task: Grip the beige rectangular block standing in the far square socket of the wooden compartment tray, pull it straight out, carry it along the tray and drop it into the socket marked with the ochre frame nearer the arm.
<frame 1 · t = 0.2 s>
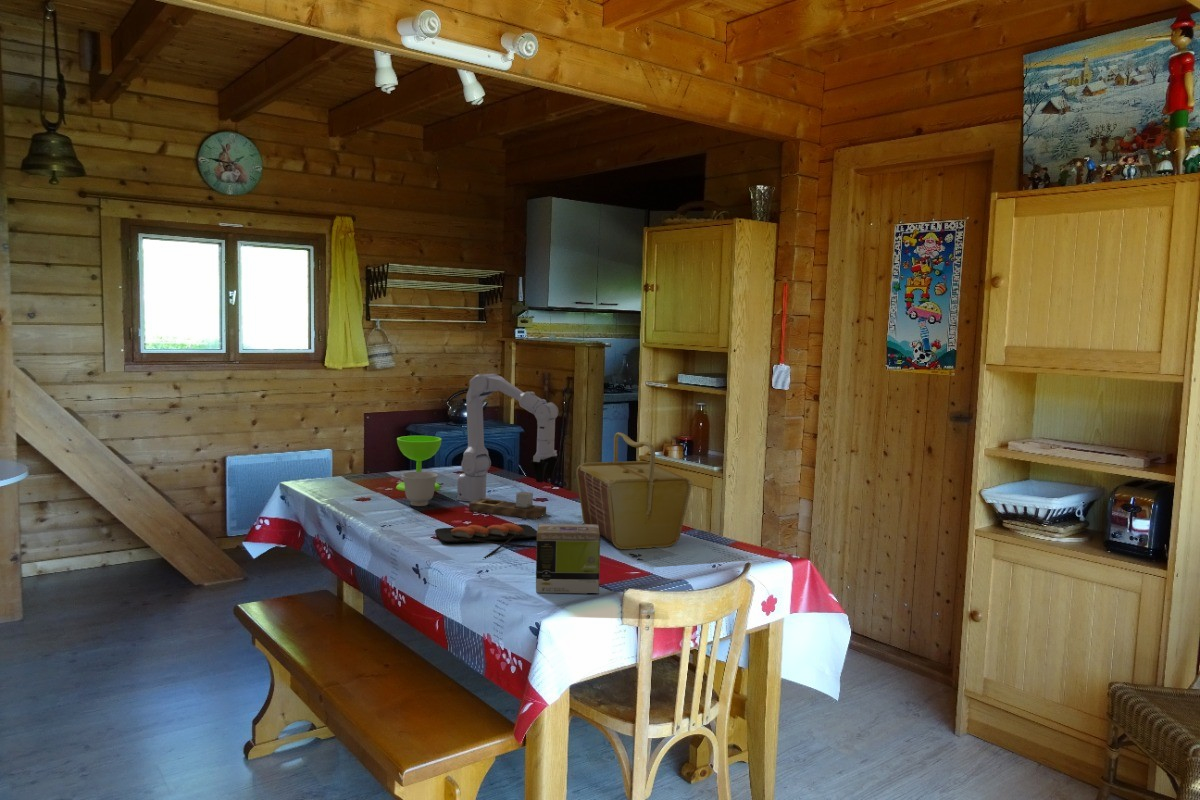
hand: (544, 480, 287), 10 cm above the table, tool pointing down, fingers open, 7 cm apart
tea box: (566, 588, 207), on the table
sushi plate: (493, 546, 244), on the table
teacup: (420, 504, 291), on the table
beige rectangular block: (524, 514, 281), resting in wooden compartment tray
picnic basket: (629, 538, 256), on the table
wineglass: (418, 488, 317), on the table
wooden compartment tray: (507, 512, 283), on the table
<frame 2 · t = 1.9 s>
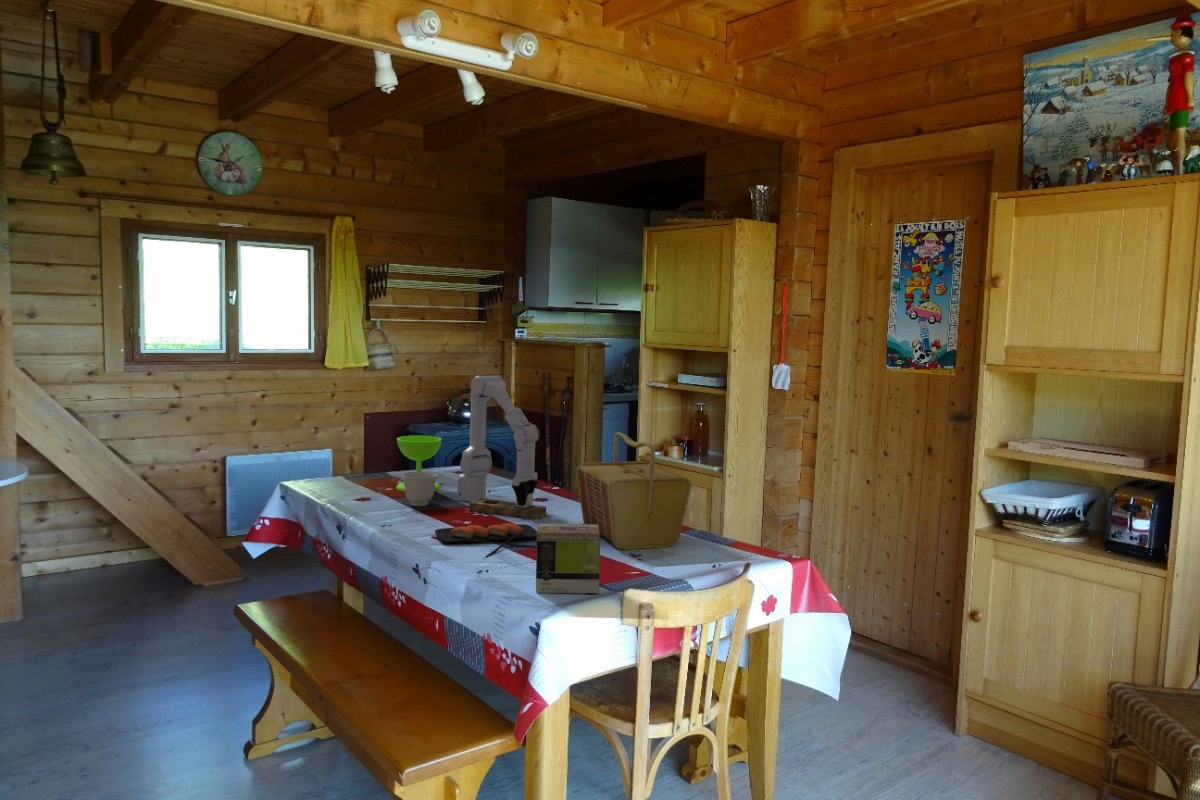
hand: (524, 504, 280), 3 cm above the table, tool pointing down, fingers closed on beige rectangular block, 4 cm apart
beige rectangular block: (524, 514, 281), resting in wooden compartment tray, touching gripper
everything else where it was.
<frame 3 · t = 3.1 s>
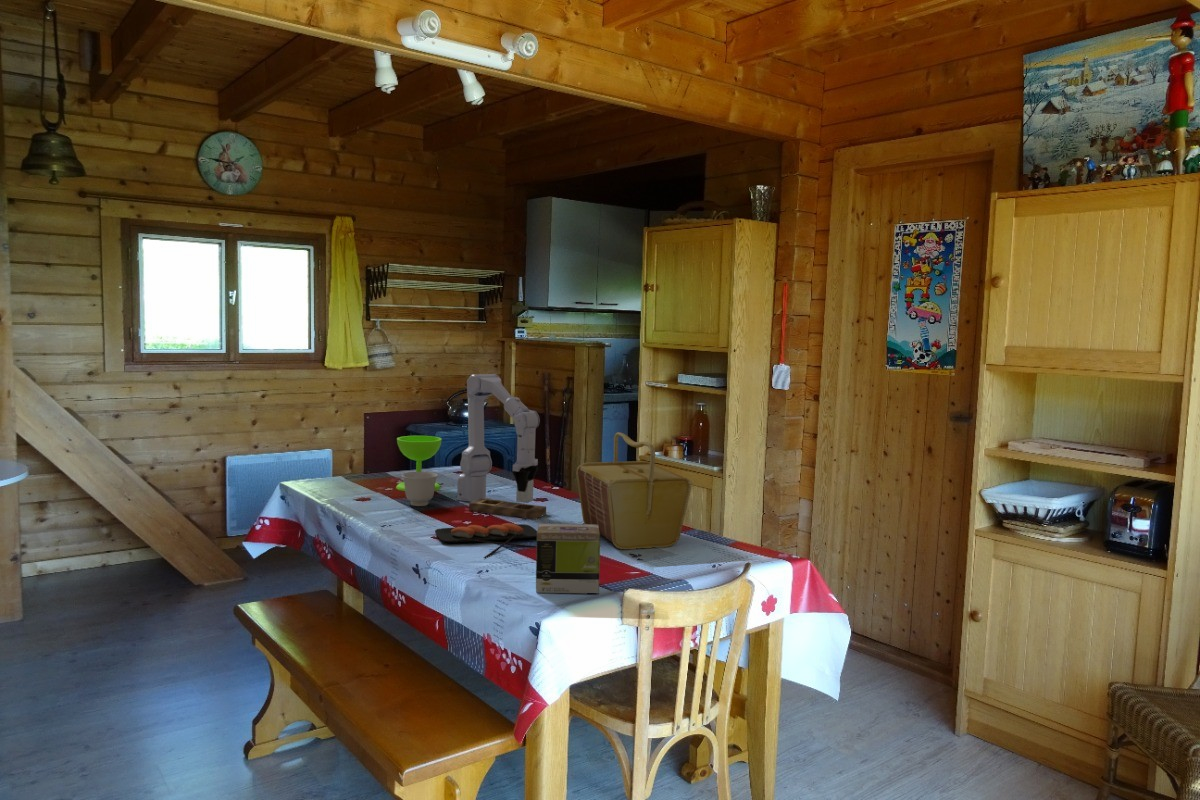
hand: (524, 490, 280), 8 cm above the table, tool pointing down, fingers closed on beige rectangular block, 4 cm apart
beige rectangular block: (524, 501, 280), point 4 cm above the table, touching gripper
everything else where it was.
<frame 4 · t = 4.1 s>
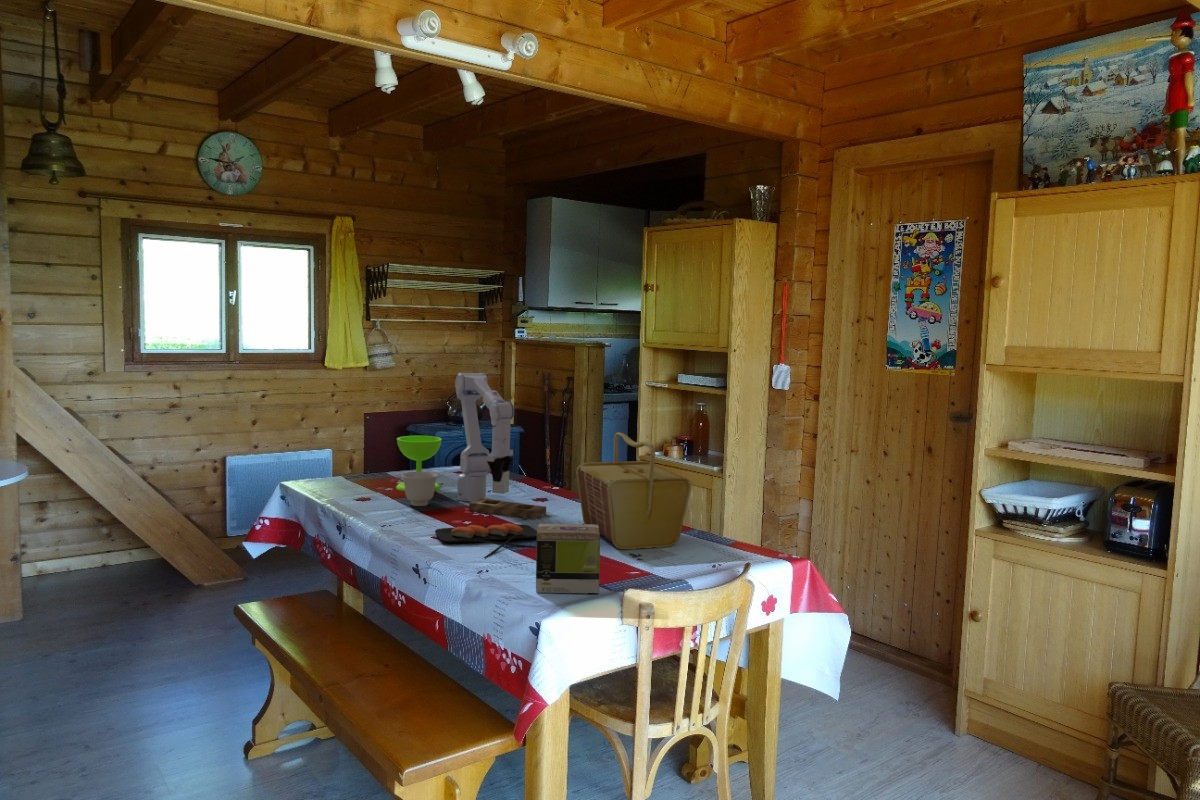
hand: (499, 480, 283), 10 cm above the table, tool pointing down, fingers closed on beige rectangular block, 4 cm apart
beige rectangular block: (500, 492, 283), point 6 cm above the table, touching gripper
everything else where it was.
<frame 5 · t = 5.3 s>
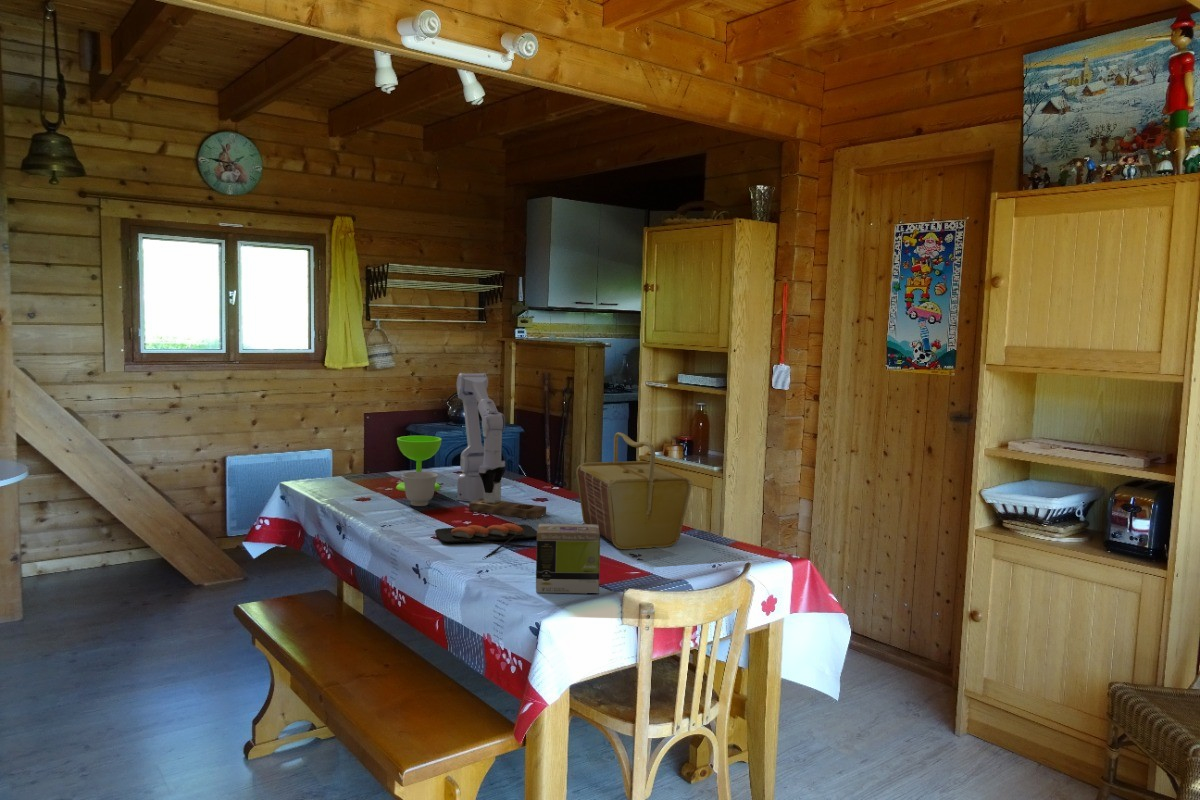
hand: (491, 491, 284), 6 cm above the table, tool pointing down, fingers closed on beige rectangular block, 4 cm apart
beige rectangular block: (492, 503, 285), point 2 cm above the table, touching gripper
everything else where it was.
when the fingers open (4 cm above the table, at t = 6.2 s): beige rectangular block stays where it is, resting in wooden compartment tray.
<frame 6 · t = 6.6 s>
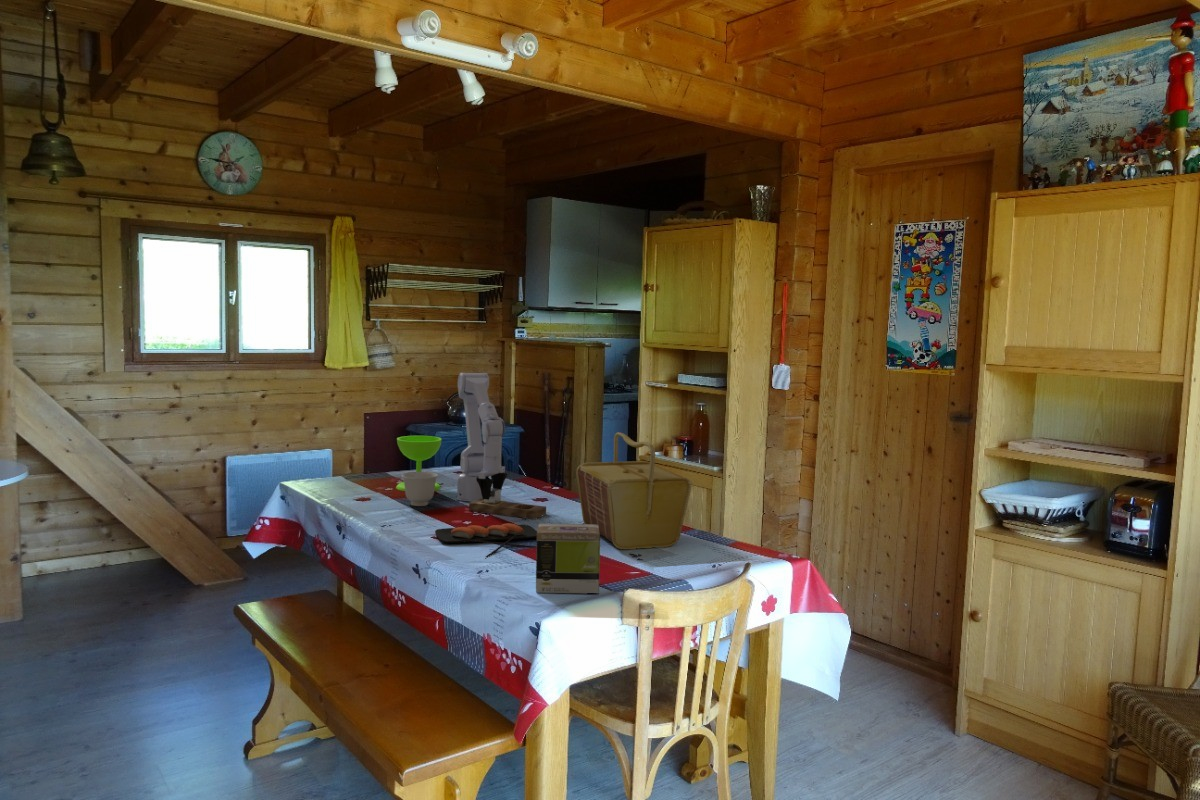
hand: (491, 497, 284), 4 cm above the table, tool pointing down, fingers open, 7 cm apart
beige rectangular block: (492, 510, 285), resting in wooden compartment tray
everything else where it was.
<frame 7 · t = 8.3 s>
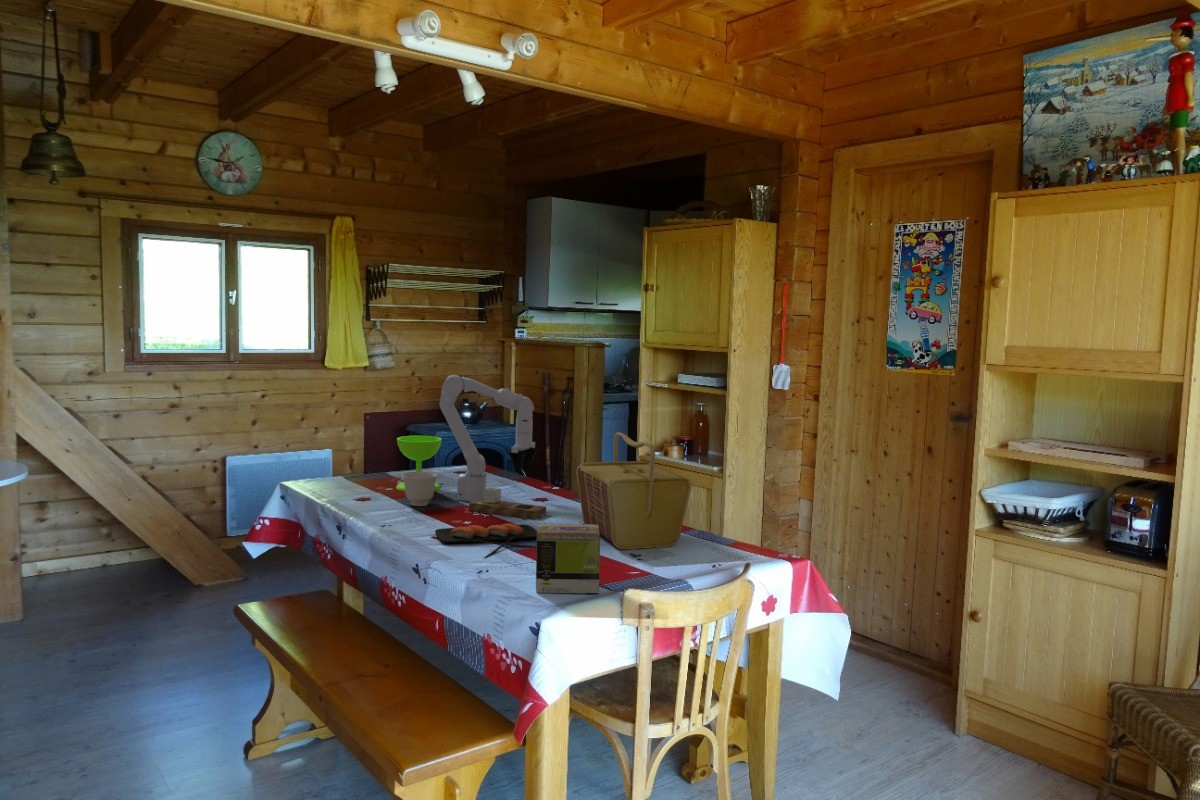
hand: (522, 470, 301), 10 cm above the table, tool pointing down, fingers open, 7 cm apart
nothing on the table moved.
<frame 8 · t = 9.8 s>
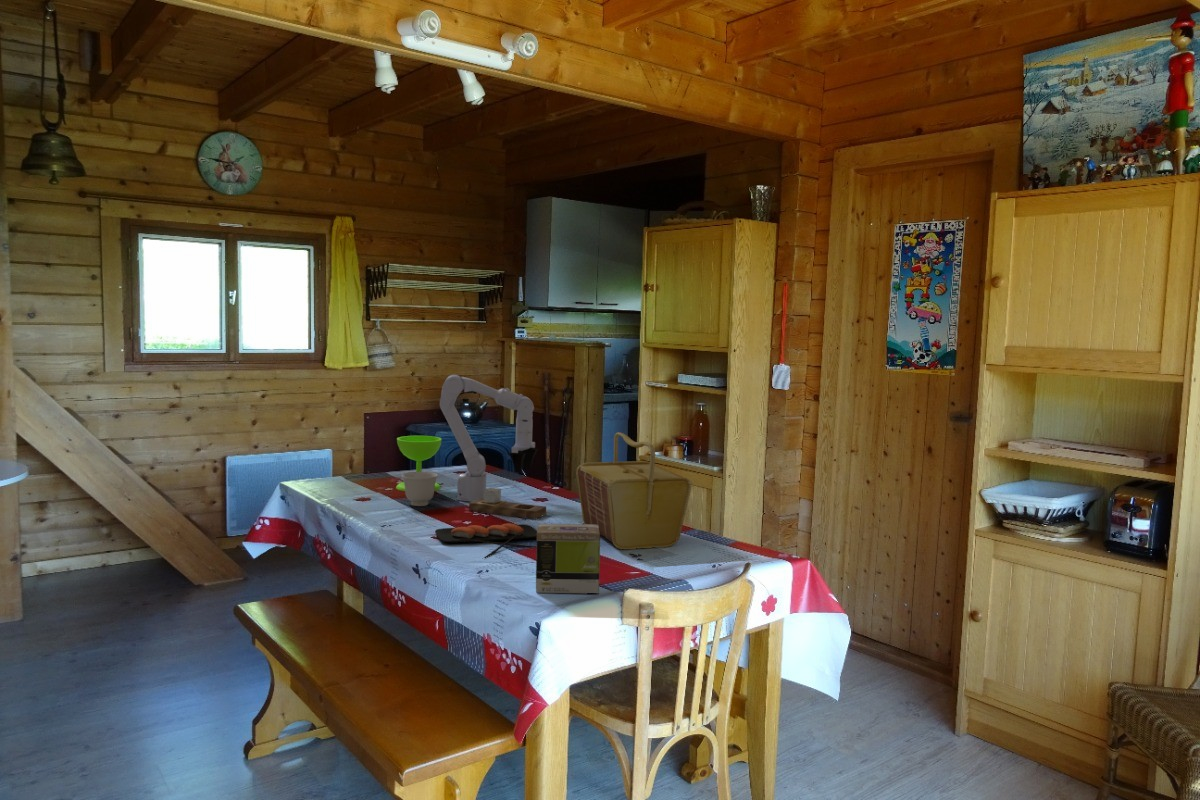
hand: (522, 470, 301), 10 cm above the table, tool pointing down, fingers open, 7 cm apart
nothing on the table moved.
at the end: beige rectangular block 0.4 cm from the target spot on the wooden compartment tray, point 0.0 cm above the wooden compartment tray's base; beige rectangular block tilted 0°; the gripper is holding nothing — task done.
